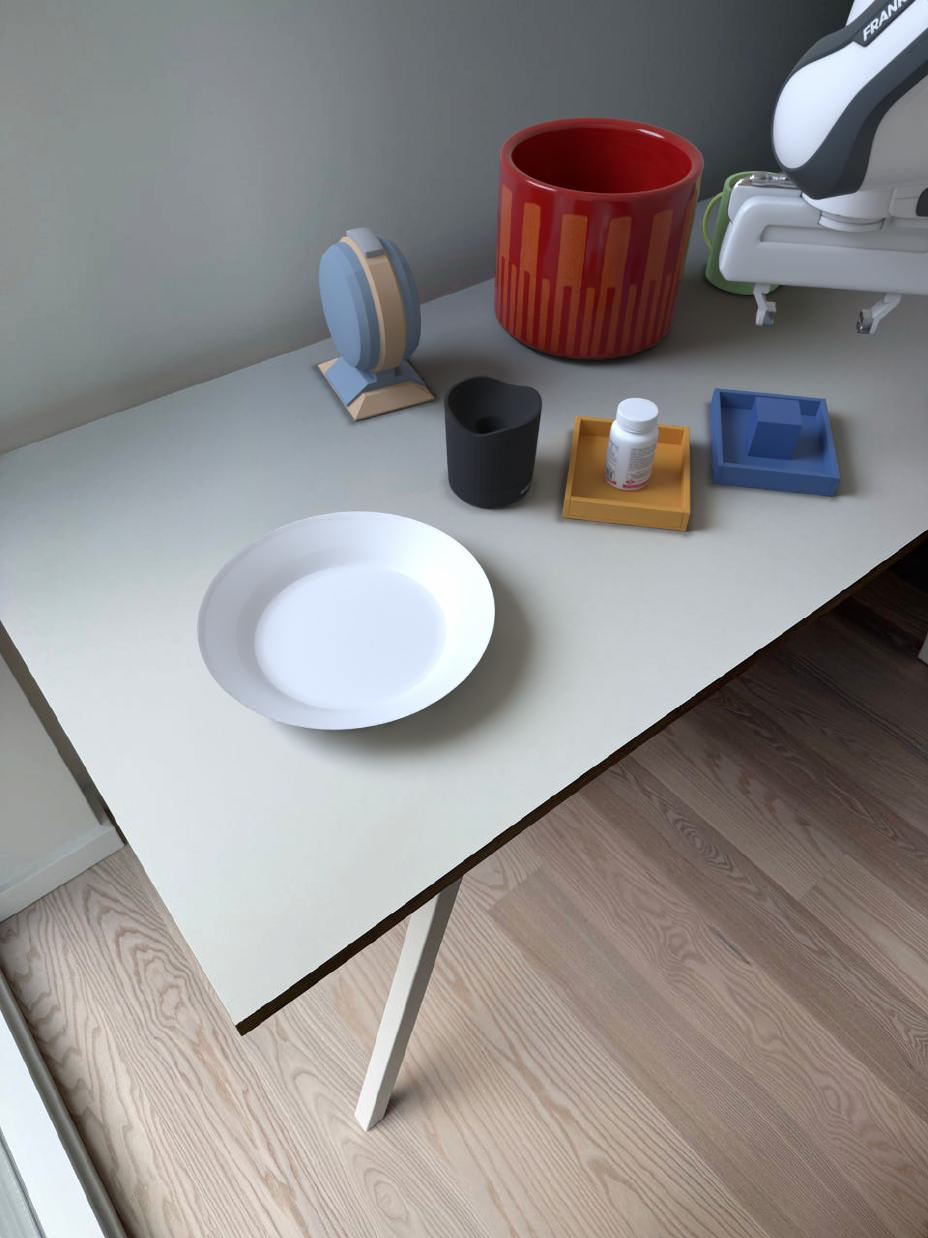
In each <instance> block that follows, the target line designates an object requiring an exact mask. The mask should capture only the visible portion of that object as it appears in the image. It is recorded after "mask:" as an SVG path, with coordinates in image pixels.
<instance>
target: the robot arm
mask: <svg viewBox="0 0 928 1238" xmlns="http://www.w3.org/2000/svg"><path fill="white" fill-rule="evenodd" d="M770 143H771V148H772V153H773V157H774V158H775V161H776V163H777V164H778V166H779V168H780V169H781V171H782V172H783V173H782V172H781V173H776V174H768V172H769V171H762V172H753V173H752V174H751V176H748V177H745V178H743V179H741V180H739V181H738V182H737V183H736V184H735V185H734V186H733V188H732V189H731V192H730V195H729V200H728V205H727V216H728V218H729V220H730V222H729V225H728V227H727V230H726V233H725V237H724V240H723V243H722V247H721V251H720V256H719V268H720V271H721V273H722V275H723V276H724V278H725V279H726V280H728V281H737V282H750V283H752V284H753V293H754V295H753V296H754V298H755V301H756V304H757V311H756V314H755V315H756V316H755V326H760V327H773V325H774V319H775V318H776V313H777V307H776V305H777V304H776V302H775V301H768V300H767V298H766V295H767V294H769V293H770V292H769V289H770V286H771V284H777V285H779V286H780V285H781V286H792V287H806V288H817V289H818V288H819V289H832V290H833V289H834V290H843V291H859V292H872V293H881V297H880V299H878V300H877V301H876V302H875V303H874V304H873V305H872V307H870V308H861V309H860V312H859V315H858V316H859V318H858V319H857V321H856V325H855V329H856V333H857V334H859V335H861V334H862V335H873V336H874V335H875V333H876V331H877V329H878V326H879V323H880V320H882V319H884V318H885V317H886V316H887V315H888V314H889V313H890V312H891V311H892V310H894V309H895V308H896V307H897V306H898V305H899V304H900V301H901V299H902V296H903V295H912V296H923V297H925V296H926V297H928V0H854V1H853V4H852V6H851V10H850V12H849V15H848V17H847V20H846V23H845V26H844V27H842V28H840V29H839V30H836V31H834V32H831V33H829V34H827V35H825V36H823V37H822V38H820V39H818V40H817V41H816V42H815V43H814V44H813V45H812V46H811V47H810V48H809V49H808V50H807V52H805V53H804V55H803V56H801V58H800V59H799V60H798V62H797V63H796V64H795V66H794V67H793V69H792V70H791V71H790V73H789V74H788V76H787V78H786V79H785V81H784V82H783V84H782V86H781V88H780V90H779V91H778V94H777V97H776V100H775V103H774V107H773V111H772V116H771V124H770ZM749 181H750V184H744V183H745V182H749Z"/></svg>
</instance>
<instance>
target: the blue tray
mask: <svg viewBox="0 0 928 1238" xmlns="http://www.w3.org/2000/svg"><path fill="white" fill-rule="evenodd" d="M755 397H765V398H776V399H786V400H797V401H799V406H800V413H801V419H802V428H801V431H800V434H799V437H798V440H797V443H796V446H795V448H794V451H793V454H792V457H791V460H784V459H774V458H765V457H755V456H748V454H747V442H746V428H747V425H748V421H749V418H750V414H751V411H752V407H753V404H754V401H755ZM709 410H710V411H709V412H710V413H709V415H710V437H711V441H710V442H711V466H712V467H711V468H712V484H715V485H724V486H733V487H743V488H752V489H760V490H761V489H762V490H768V491H769V490H771V491H778V492H779V491H780V492H788V493H798V494H806V495H815V496H816V495H817V496H825V497H834V495H835V493H836V490H837V488H838V486H839V483H840V481H841V474H840V468H839V462H838V457H837V452H836V447H835V442H834V437H833V431H832V425H831V421H830V420H831V419H830V416H829V409H828V404H827V399H826V398H822V397H821V398H820V397H813V396H802V395H801V396H800V395H790V394H781V393H771V392H759V391H749V390H737V389H729V388H718V387H714V389H713V392H712V397H711V401H710V404H709Z"/></svg>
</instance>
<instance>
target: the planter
mask: <svg viewBox="0 0 928 1238" xmlns="http://www.w3.org/2000/svg"><path fill="white" fill-rule="evenodd" d="M498 167H499V168H498V188H497V189H498V191H497V192H498V193H497V212H496V213H497V216H496V237H495V238H496V245H495V266H494V267H495V269H494V270H495V271H494V272H495V273H494V299H493V300H494V301H493V311H494V315H495V318H496V320H497V322H498V323H499V325H500V326H501V328H502V329H503V330H504V331H505V332H506V333H507V334H508V335H509V336H510V337H512V338H513V339H515V340H516V341H517V342H519V343H521V344H523V345H524V346H526V347H528V348H530V349H533V350H535V351H538V352H539V353H543V354H546V355H550V356H553V357H558V358H563V359H569V360H576V361H577V360H578V361H605V360H606V361H608V360H614V359H621V358H625V357H630V356H633V355H635V354H638V353H641V352H644V351H647V350H648V349H650V348H652V347H654V346H655V345H657V344H658V343H660V342H661V341H662V340H663V339H664V338H666V336H667V335H668V333H669V332H670V331H671V330H672V327H673V324H674V323H675V318H676V314H677V310H678V309H677V308H678V303H679V298H680V293H681V289H682V283H683V278H684V273H685V268H686V263H687V258H688V253H689V249H690V243H691V238H692V234H693V233H692V232H693V228H694V224H695V223H694V222H695V218H696V213H697V206H698V200H699V196H700V191H701V184H702V180H703V176H704V175H703V174H704V169H705V160H704V157H703V154H702V152H701V151H700V150H699V148H697V146H696V145H695V144H693V143H692V142H691V141H689V140H688V139H687V138H685V137H683V136H682V135H680V134H677V133H675V132H673V131H671V130H668V129H665V128H662V127H660V126H656V125H653V124H649V123H646V122H640V121H636V120H630V119H622V118H615V117H595V116H594V117H593V116H585V117H584V116H583V117H582V116H581V117H568V118H559V119H553V120H547V121H543V122H539V123H535V124H533V125H529V126H526V127H524V128H522V129H520V130H517V131H516V132H515V133H513V134H512V135H510V136H508V137H507V139H506V140H505V141H504V142H503V144H502V145H501V148H500V151H499V166H498Z"/></svg>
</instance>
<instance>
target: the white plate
mask: <svg viewBox="0 0 928 1238" xmlns="http://www.w3.org/2000/svg"><path fill="white" fill-rule="evenodd" d="M495 608H496V607H495V599H494V593H493V590H492V586H491V584H490V581H489V578H488V577H487V575H486V573H485V570H484V569H483V568H482V566H481V564H480V563H479V562H478V561H477V559H476V558H475V557H474V556H473V555H472V553H471V552H470V551H469V550H468V549H466V547H464V546H463V545H462V543H460V542H459V541H457V539H454V537H452V536H450V535H448V533H447V534H446V533H445V532H443V531H441V530H439V529H438V528H436V527H434V526H431V525H430V524H428V523H424V522H422V521H419V520H416V519H414V518H410V517H406V516H402V515H398V514H392V513H386V512H380V511H379V512H377V511H363V510H362V511H361V510H360V511H358V510H357V511H354V510H353V511H338V512H337V511H336V512H330V513H324V514H318V515H313V516H310V517H305V518H301V519H298V520H295V521H291V522H289V523H287V524H284V525H282V526H279V527H277V528H274V529H272V530H271V531H268V532H267V533H264V534H263V535H260V536H259V537H258V538H256V539H254V540H252V541H251V542H249V543H248V544H247V545H245V546H244V547H242V548H241V549H240V550H239V551H237V553H234V555H233V556H231V558H230V559H229V560H227V562H225V564H224V565H222V567H221V568H220V569H219V570H218V572H217V573H216V575H215V576H214V577H213V579H212V580H211V582H210V583H209V585H208V587H207V589H206V591H205V593H204V596H203V598H202V600H201V603H200V606H199V610H198V615H197V616H198V617H197V624H196V635H197V645H198V648H199V652H200V655H201V658H202V660H203V663H204V665H205V667H206V668H207V670H208V672H209V674H210V675H211V677H212V678H213V680H214V681H215V682H216V683H217V684H218V686H219V687H220V688H221V690H223V691H224V692H225V693H226V694H227V695H229V696H230V697H231V698H232V699H233V700H234V701H236V702H238V703H239V704H240V705H242V706H243V707H245V708H246V709H249V710H250V711H252V712H254V713H256V714H258V715H260V716H262V717H264V718H268V719H271V720H273V721H276V722H278V723H282V724H286V725H290V726H294V727H300V728H306V729H314V730H333V731H335V730H353V729H363V728H367V727H373V726H378V725H384V724H386V723H387V724H388V723H390V722H393V721H397V720H399V719H402V718H406V717H407V716H410V715H413V714H415V713H418V712H419V711H421V710H423V709H426V708H427V707H429V706H431V705H433V704H435V703H436V702H437V701H439V700H441V699H442V698H444V697H445V696H447V695H448V694H449V693H451V692H452V691H453V690H455V688H457V687H458V686H459V685H460V684H461V683H462V682H463V681H464V680H466V678H467V677H468V676H469V675H470V674H471V673H472V671H473V670H474V668H476V666H477V665H478V663H479V662H480V660H481V659H482V657H483V655H484V653H485V651H486V650H487V648H488V644H489V643H490V639H491V637H492V633H493V631H494V626H495V625H494V624H495V612H496V611H495V610H496V609H495Z"/></svg>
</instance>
